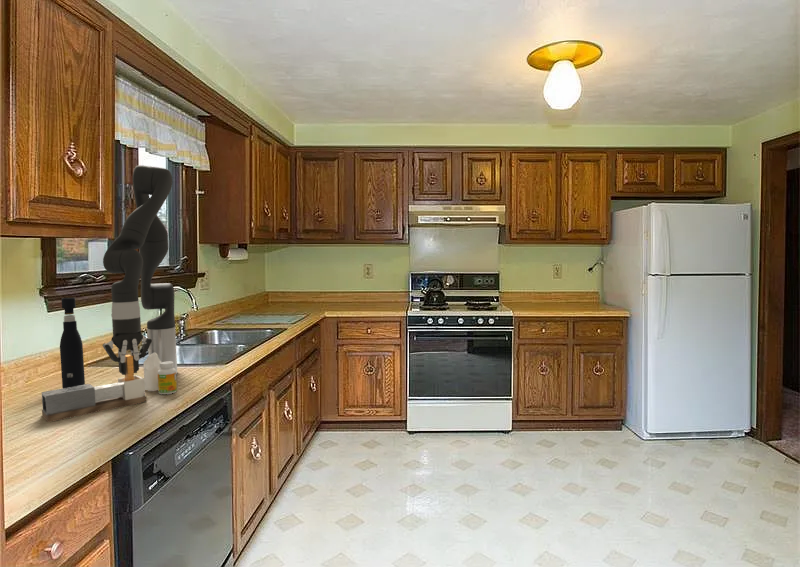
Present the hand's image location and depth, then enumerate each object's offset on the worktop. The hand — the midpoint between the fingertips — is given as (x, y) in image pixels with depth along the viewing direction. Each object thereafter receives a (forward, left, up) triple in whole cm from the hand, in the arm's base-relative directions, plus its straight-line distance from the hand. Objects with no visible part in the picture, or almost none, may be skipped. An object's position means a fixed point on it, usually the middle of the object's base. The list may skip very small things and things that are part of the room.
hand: (129, 373), depth 159 cm
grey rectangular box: (+10, -12, -7) cm, 18 cm away
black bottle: (-19, -26, -9) cm, 33 cm away
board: (+6, -7, -9) cm, 13 cm away
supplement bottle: (-9, +8, -9) cm, 14 cm away
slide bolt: (+3, -4, -6) cm, 8 cm away
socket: (0, 0, -7) cm, 7 cm away
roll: (-14, +2, -9) cm, 16 cm away
